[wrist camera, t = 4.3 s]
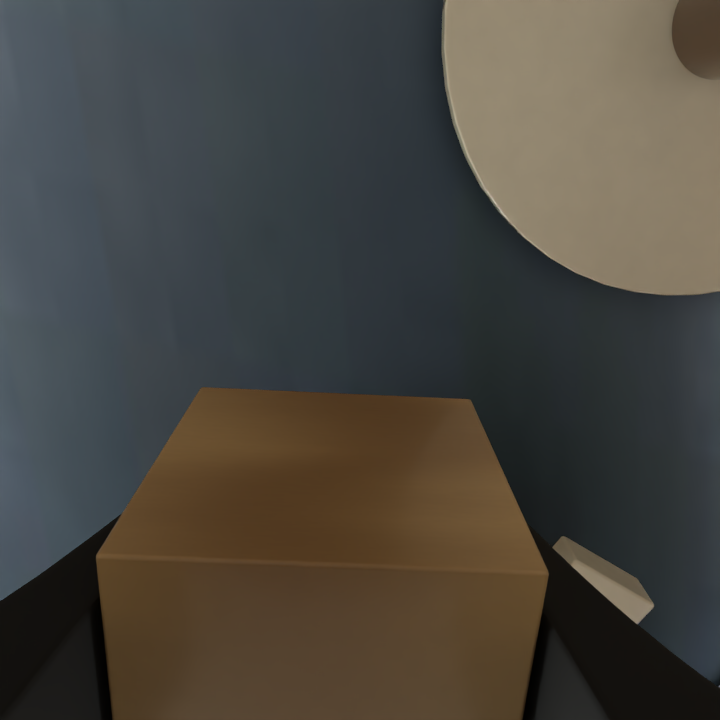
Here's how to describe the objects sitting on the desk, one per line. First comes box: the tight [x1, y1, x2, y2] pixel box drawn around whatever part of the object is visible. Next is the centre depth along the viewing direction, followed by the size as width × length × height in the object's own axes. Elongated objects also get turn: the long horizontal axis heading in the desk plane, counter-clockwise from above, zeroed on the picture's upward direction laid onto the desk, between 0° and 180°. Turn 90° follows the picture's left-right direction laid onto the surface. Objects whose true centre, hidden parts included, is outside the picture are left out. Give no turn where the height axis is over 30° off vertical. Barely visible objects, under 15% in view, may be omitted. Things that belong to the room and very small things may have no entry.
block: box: [96, 387, 549, 720], centre depth 9 cm, size 4×4×4 cm
